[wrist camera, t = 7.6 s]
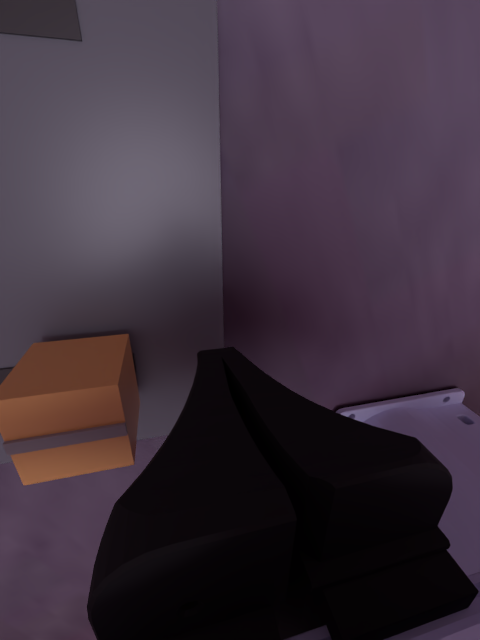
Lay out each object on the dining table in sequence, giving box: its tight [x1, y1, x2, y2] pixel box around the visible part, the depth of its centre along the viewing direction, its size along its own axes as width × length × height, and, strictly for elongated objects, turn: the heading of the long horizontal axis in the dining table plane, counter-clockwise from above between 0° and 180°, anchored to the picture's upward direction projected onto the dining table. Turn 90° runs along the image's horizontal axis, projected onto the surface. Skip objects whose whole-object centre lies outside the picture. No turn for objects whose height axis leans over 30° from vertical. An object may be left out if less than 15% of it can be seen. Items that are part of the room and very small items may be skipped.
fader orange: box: [0, 334, 140, 485], centre depth 9 cm, size 3×3×3 cm
